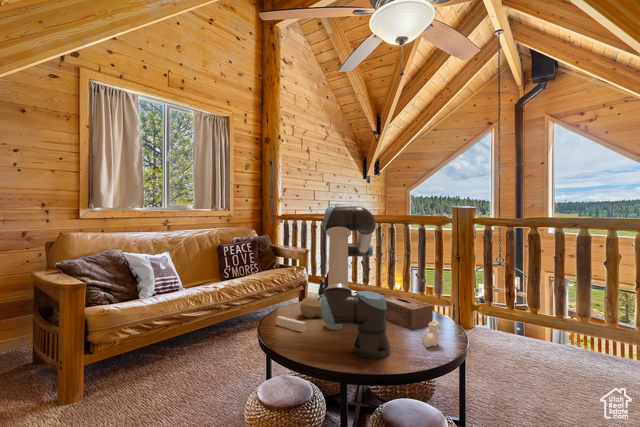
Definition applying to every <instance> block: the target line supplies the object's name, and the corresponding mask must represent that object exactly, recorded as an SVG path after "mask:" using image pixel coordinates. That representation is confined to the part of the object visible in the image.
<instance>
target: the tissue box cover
mask: <svg viewBox="0 0 640 427" xmlns="http://www.w3.org/2000/svg"><path fill="white" fill-rule="evenodd" d="M383 296H384V297H385V299H386V307H387V309H386V321H390V322H393V323H394V322H395V324H396V325H398V326H399V325H400V326H402V327H405V328H407V329H410V330H411V331H414V329H415V330H417V329H421V327H422V328H425V327H428V324H429V323H430V322H432V321H433V320H434V319H433V318H434V305H433V304H431V303H427V302H424V301H422V300H418V299H415V298H411V297H408V296H405V295H402V294H399V293H396V292H395V293H390V294H385V295H383Z"/></svg>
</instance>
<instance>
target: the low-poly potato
mask: <svg viewBox="0 0 640 427" xmlns="http://www.w3.org/2000/svg"><path fill="white" fill-rule="evenodd" d="M299 309H300V314H301V315H302V316H304V317H306V318H308V319H312V318H316V317H319V316H322V308H321V302H320V301H318V299H317V300H315V299H312V298H307V297H306V298H303V299H302V301H301V304H300V306H299Z"/></svg>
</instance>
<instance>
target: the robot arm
mask: <svg viewBox="0 0 640 427" xmlns="http://www.w3.org/2000/svg"><path fill="white" fill-rule="evenodd" d="M322 224H323V226H322V228H323V231H325V232H326V233H325V234H326V235H327V237H328V238H329V240H328V241H329V243H328V244H329V246H328V270H327V273H326V277H325V278H324V279H320V280H319V287H318V291H317V295H318V296H319V297H318V298H317V301H320V302H321V308H322V315H321V316H322V320H323V322H324V324H325V325H326V324H334V325H335V324H342V325H352V326H355V325H356V329H357V330H356V333H355V336H354V340H353V343H352V350H353V352H354V353H355V354H356V355H358V356H359V357H362V358H368V359H383V358H387V357H388V356H389V355H390V354H391V343H390V341H389V338H388V334H387V319H386V309H387V307H386V299H385V297H384V295H382V294H381V293H379V292H376V291H375V292H374V291H370V290H359V291H357V293H356V294H352V293H353V291H352V289H351V288H350V287H349V257H355V258H356V257H358V258H359V257H360V258H363V257H364V258H368V257H373V253H374V248H373V244H372V243H371V242H372V238H373V233H374V232H375V230H376V229H377V228H376V227H377V221H376V218H375V216H374V214H372V212H371V211H370V210H368V209H367V208H365V207H362V206H357V205H356V206H350V205H348V206H345V205H343V206H337V205H335V206H328V207H326V209H325V212H324V216H323V223H322ZM352 232H357V234H356V235H357V236H356V237H357V238H356V243H349V237H350V236H351V235H352Z"/></svg>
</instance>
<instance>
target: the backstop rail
mask: <svg viewBox="0 0 640 427" xmlns="http://www.w3.org/2000/svg"><path fill="white" fill-rule="evenodd" d="M277 325H279V326H278V327H281V326H282V328H285V327H286V329H288V328H289V330H293V331H297V332H300V333H305V332H306V325H307V324H306V322H305V321H302V320H298V319H294V318H289V317H285V316H283V315H282V316H281V315H279V316H277V317H276V326H277Z"/></svg>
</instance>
